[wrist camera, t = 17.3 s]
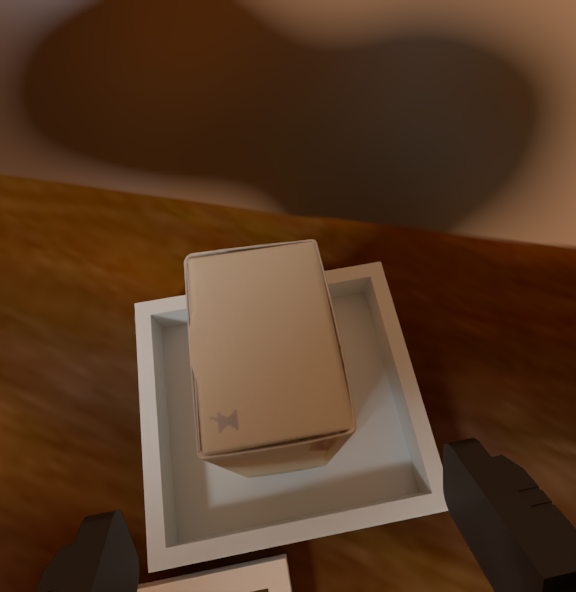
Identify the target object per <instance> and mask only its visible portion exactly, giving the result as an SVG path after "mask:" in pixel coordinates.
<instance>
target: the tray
mask: <svg viewBox="0 0 576 592" xmlns="http://www.w3.org/2000/svg"><path fill="white" fill-rule="evenodd" d="M324 272H325V276H326V279H327V283H328V287H329V291H330V295H331V299H332V303H333V308H334V312H335V316H336V321H337V325H338V329H339V334H340V339H341V343H342V347H343V352H344V357H345V362H346V367H347V372H348V377H349V383H350V388H351V395H352V401H353V407H354V414H355V420H356V430H355V432H354V434H352V436H351V437H350V438H349V439H348V440H347V441H346V443H345V444H344V445H343V446H342V447H341V449H340V450H339V451H338V452H337V453H336V454H335V456H334V457H333V458H332V459H331V460H330V461H329V463H327V465H325V466H320V467H316V468H312V469H306V470H301V471H295V472H289V473H283V474H276V475H269V476H261V477H253V478H246V477H244V476H241V475H239V474H237V473H234V472H232V471H229V470H226V469H224V468H222V467H219V466H217V465H214V464H212V463H209V462H207V461H204V460H201V459H200V458H198V455H197V451H196V431H195V422H194V406H193V393H192V379H191V366H190V354H189V340H188V321H187V308H186V295H182V296H176V297H170V298H164V299H158V300H153V301H147V302H141V303H135V321H136V341H137V361H138V381H139V400H140V420H141V440H142V460H143V479H144V499H145V519H146V539H147V558H148V573H151V572H156V571H161V570H166V569H171V568H175V567H180V566H185V565H190V564H195V563H199V562H204V561H209V560H214V559H219V558H223V557H228V556H233V555H238V554H243V553H247V552H252V551H257V550H262V549H267V548H271V547H276V546H281V545H286V544H291V543H295V542H300V541H305V540H310V539H315V538H319V537H324V536H329V535H334V534H338V533H343V532H348V531H353V530H358V529H362V528H367V527H372V526H377V525H382V524H386V523H391V522H396V521H401V520H406V519H410V518H415V517H420V516H425V515H430V514H434V513H439V512H444V511H449V510H448V508H447V505H446V502H445V498H444V494H443V467H442V464H441V460H440V457H439V454H438V450H437V447H436V444H435V440H434V437H433V434H432V430H431V427H430V424H429V420H428V417H427V414H426V410H425V407H424V404H423V400H422V397H421V394H420V390H419V387H418V384H417V380H416V377H415V374H414V370H413V367H412V364H411V360H410V357H409V354H408V350H407V347H406V344H405V340H404V337H403V334H402V330H401V327H400V324H399V320H398V317H397V314H396V310H395V307H394V304H393V300H392V297H391V294H390V290H389V287H388V284H387V281H386V277H385V274H384V271H383V267H382V264H381V261H380V262H375V263H369V264H363V265H357V266H351V267H345V268H340V269H334V270H328V271H324Z"/></svg>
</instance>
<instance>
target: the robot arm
mask: <svg viewBox="0 0 576 592" xmlns="http://www.w3.org/2000/svg"><path fill="white" fill-rule="evenodd" d="M443 494H444V498H445V502H446V505H447V508H448V510H449V513H450V515H451V517H452V519H453V520H454V522H455V524H456V525H457V527H458V529H459V531H460V532H461V534H462V536H463V538H464V539H465V541H466V543H467V544H468V546H469V548H470V550H471V551H472V553H473V555H474V557H475V558H476V560H477V562H478V564H479V565H480V567H481V569H482V570H483V572H484V574H485V576H486V577H487V579H488V581H489V583H490V584H491V586H492V588H493V590H494V591H495V592H576V529H575V528H574V526H573V525H572V524H571V523H570V522H569V521H568V519H567V518H566V517H565V516H564V515H563V514H562V513H561V511H560V510H559V509H558V508H557V507H556V506H555V505H553V504H552V501H551V500H550V499H549V498H548V496H547V495H546V494H545V493H544V492H543V491H542V490H540V489H539V486H538V485H537V484H536V483H535V481H534V480H533V479H532V478H531V477H530V476H529V475H528V473H527V472H526V471H525V470H524V469H523V468H522V467H520V466H519V465H517V464H515V463H514V462H512V461H511V460H509V459H508V458H506V457H504V456H503V455H500V456H495V457H491V456H490V455H489V453H488V452H487V451H486V450H485V448H484V447H483V446H482V445H481V443H480V442H479V441H478V440H477V439H475V438H470V439H465V440H460V441H456V442H451V443H446V444H444V446H443ZM138 584H139V559H138V554H137V551H136V549H135V546H134V543H133V541H132V538H131V535H130V533H129V530H128V527H127V525H126V522H125V519H124V517H123V514H122V513H121V511H119V510H116V511H111V512H106V513H101V514H97V515H92V516H87V517H85V518H84V520H83V521H82V523H81V526H80V529H79V531H78V534H77V537H76V540H75V542H74V544H71V545H66V546H62V547H61V548H60V550H59V551H58V552H57V554H56V555H55V556H54V557H53V559H52V560H51V561H50V563H49V564H48V565H47V566H46V568H45V569H44V571H43V574H42V576H41V579H40V581H39V583H38V586H37V588H36V591H35V592H137V589H138Z"/></svg>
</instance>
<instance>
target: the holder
mask: <svg viewBox="0 0 576 592" xmlns="http://www.w3.org/2000/svg"><path fill="white" fill-rule="evenodd" d="M266 588H268V592H292V586H291V580H290V573H289V567H288V561H287V555H286V554H282V555H277V556H272V557H267V558H262V559H258V560H253V561H248V562H243V563H239V564H234V565H229V566H224V567H220V568H215V569H210V570H205V571H200V572H196V573H191V574H186V575H181V576H177V577H172V578H167V579H162V580H158V581H153V582H148V583H143V584H138V589H137V592H252V591H257V590H261V589H266Z"/></svg>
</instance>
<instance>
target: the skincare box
mask: <svg viewBox="0 0 576 592" xmlns="http://www.w3.org/2000/svg"><path fill="white" fill-rule="evenodd" d="M184 272H185V291H186V308H187V321H188V340H189V354H190V366H191V379H192V393H193V406H194V422H195V431H196V451H197V455H198V458H200V459H201V460H204V461H207V462H209V463H212V464H214V465H217V466H219V467H222V468H224V469H226V470H229V471H232V472H234V473H237V474H239V475H241V476H244V477H246V478H253V477H261V476H269V475H276V474H283V473H289V472H295V471H301V470H306V469H312V468H316V467H320V466H325V465H327V463H329V461H330V460H331V459H332V458H333V457H334V456H335V454H336V453H337V452H338V451H339V450H340V449H341V447H342V446H343V445H344V444H345V443H346V441H347V440H348V439H349V438H350V437H351V436H352V434H354V432H355V430H356V420H355V414H354V407H353V401H352V395H351V388H350V383H349V377H348V372H347V367H346V362H345V357H344V352H343V347H342V343H341V339H340V334H339V329H338V325H337V321H336V316H335V312H334V308H333V303H332V299H331V295H330V291H329V287H328V283H327V279H326V276H325V272H324V267H323V264H322V260H321V256H320V253H319V249H318V245H317V242H316V241H315V240H313V239H309V240H301V241H294V242H281V243H273V244H263V245H253V246H246V247H238V248H228V249H220V250H213V251H205V252H197V253H191V254H189V255H188V256H187V257H186V258H185V260H184Z"/></svg>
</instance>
